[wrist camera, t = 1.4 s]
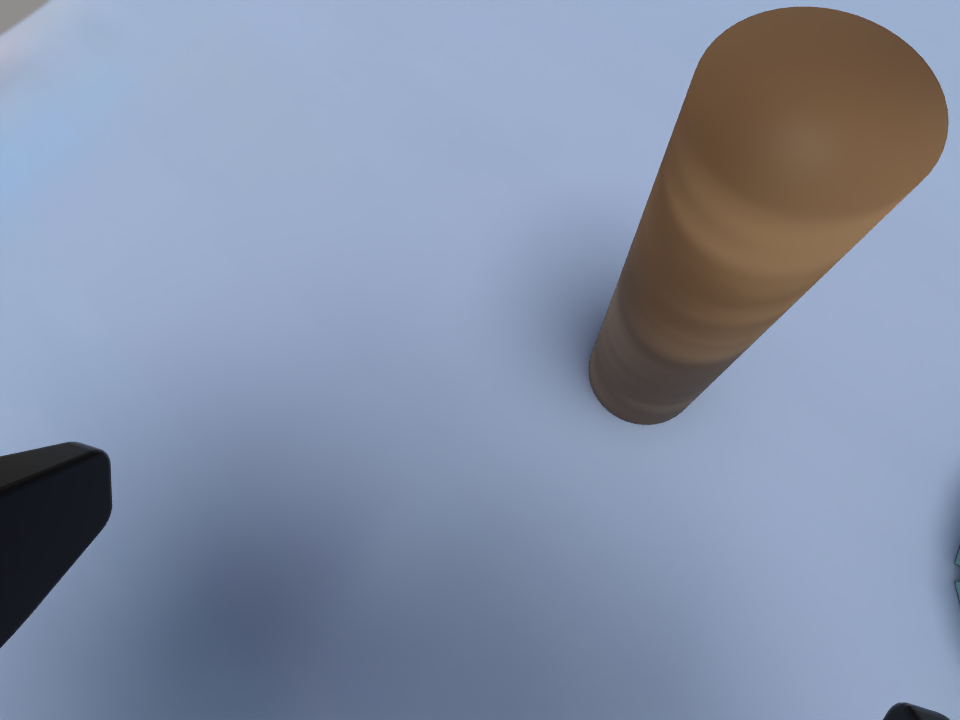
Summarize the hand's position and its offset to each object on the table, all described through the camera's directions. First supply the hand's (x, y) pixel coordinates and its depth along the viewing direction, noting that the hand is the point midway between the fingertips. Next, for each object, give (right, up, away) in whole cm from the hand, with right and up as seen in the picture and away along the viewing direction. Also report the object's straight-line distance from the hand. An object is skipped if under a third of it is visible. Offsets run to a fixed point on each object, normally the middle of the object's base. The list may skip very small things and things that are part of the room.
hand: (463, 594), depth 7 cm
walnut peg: (+6, +2, +14) cm, 16 cm away
